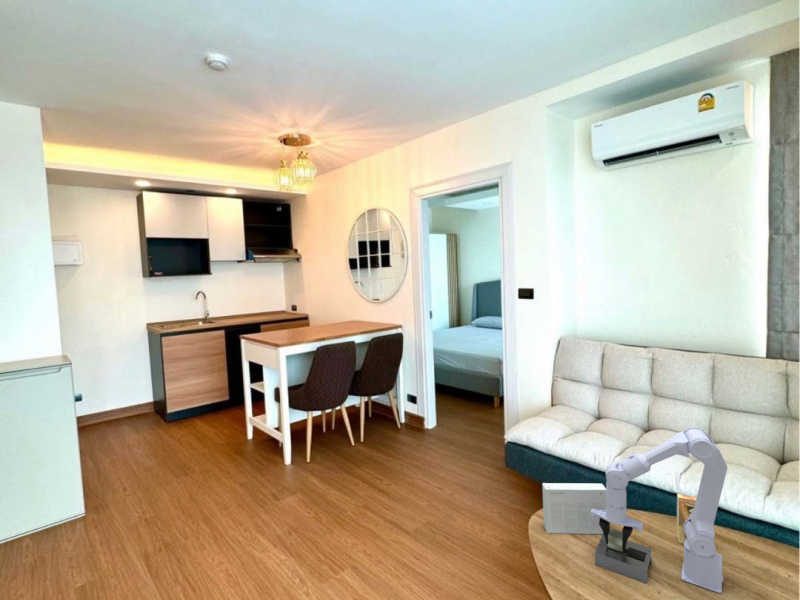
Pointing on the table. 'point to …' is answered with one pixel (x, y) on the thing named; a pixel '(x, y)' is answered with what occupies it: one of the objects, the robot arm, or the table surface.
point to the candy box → (683, 514)
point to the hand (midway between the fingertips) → (616, 545)
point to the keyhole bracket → (624, 559)
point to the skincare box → (572, 507)
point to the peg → (615, 540)
